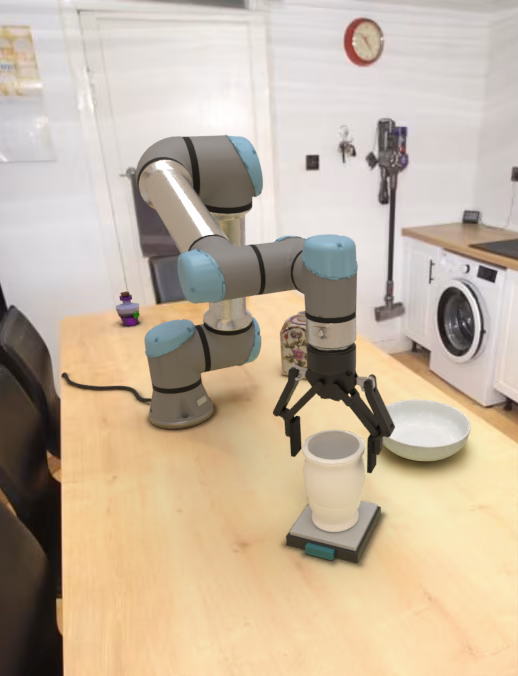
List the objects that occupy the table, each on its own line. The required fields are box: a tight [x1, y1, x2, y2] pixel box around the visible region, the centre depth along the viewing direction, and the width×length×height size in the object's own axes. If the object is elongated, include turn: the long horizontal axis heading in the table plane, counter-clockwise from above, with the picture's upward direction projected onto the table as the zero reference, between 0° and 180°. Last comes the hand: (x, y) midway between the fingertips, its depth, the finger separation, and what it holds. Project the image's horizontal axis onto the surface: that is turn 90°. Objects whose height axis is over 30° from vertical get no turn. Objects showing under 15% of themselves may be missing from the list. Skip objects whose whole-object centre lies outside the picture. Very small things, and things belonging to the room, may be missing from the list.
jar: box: [301, 429, 366, 532], centre depth 92 cm, size 11×10×15 cm
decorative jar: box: [279, 310, 308, 380], centre depth 155 cm, size 12×12×18 cm
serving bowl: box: [383, 398, 472, 462], centre depth 120 cm, size 21×21×7 cm
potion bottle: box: [115, 291, 141, 328], centre depth 196 cm, size 9×9×12 cm
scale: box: [285, 500, 382, 564], centre depth 95 cm, size 13×14×3 cm
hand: (333, 460), depth 90 cm, fingers open, 13 cm apart
